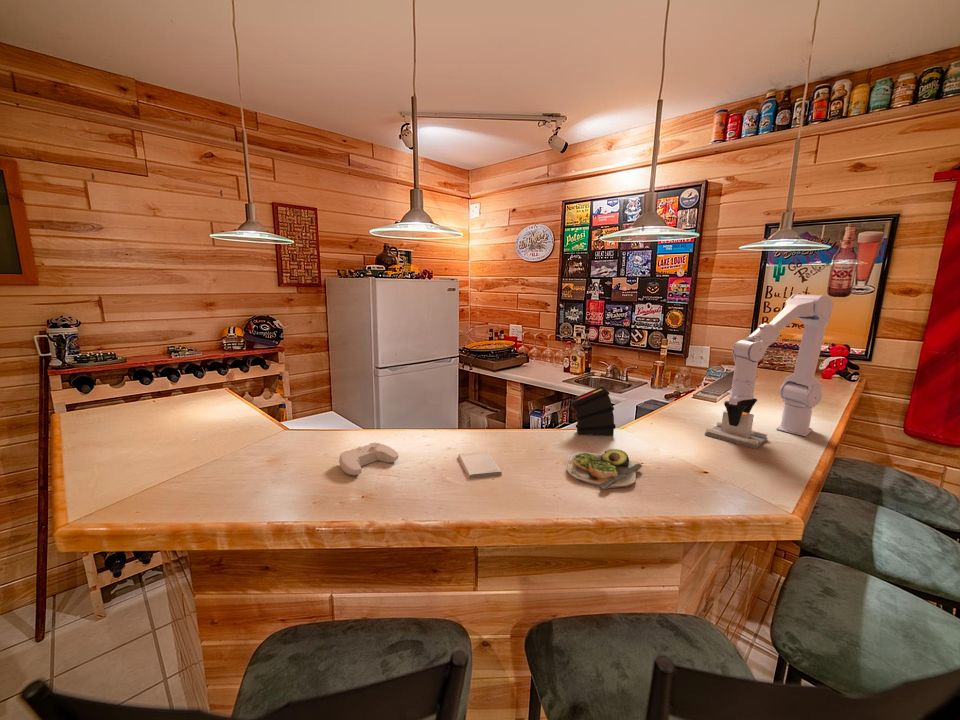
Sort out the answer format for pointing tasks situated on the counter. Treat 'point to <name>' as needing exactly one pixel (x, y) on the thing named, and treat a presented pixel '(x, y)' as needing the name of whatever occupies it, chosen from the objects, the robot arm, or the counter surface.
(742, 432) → the module block
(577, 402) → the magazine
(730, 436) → the rail mount
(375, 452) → the game controller
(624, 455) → the avocado toast plate
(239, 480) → the counter surface
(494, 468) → the hard drive
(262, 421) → the counter surface
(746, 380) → the robot arm
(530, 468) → the counter surface
